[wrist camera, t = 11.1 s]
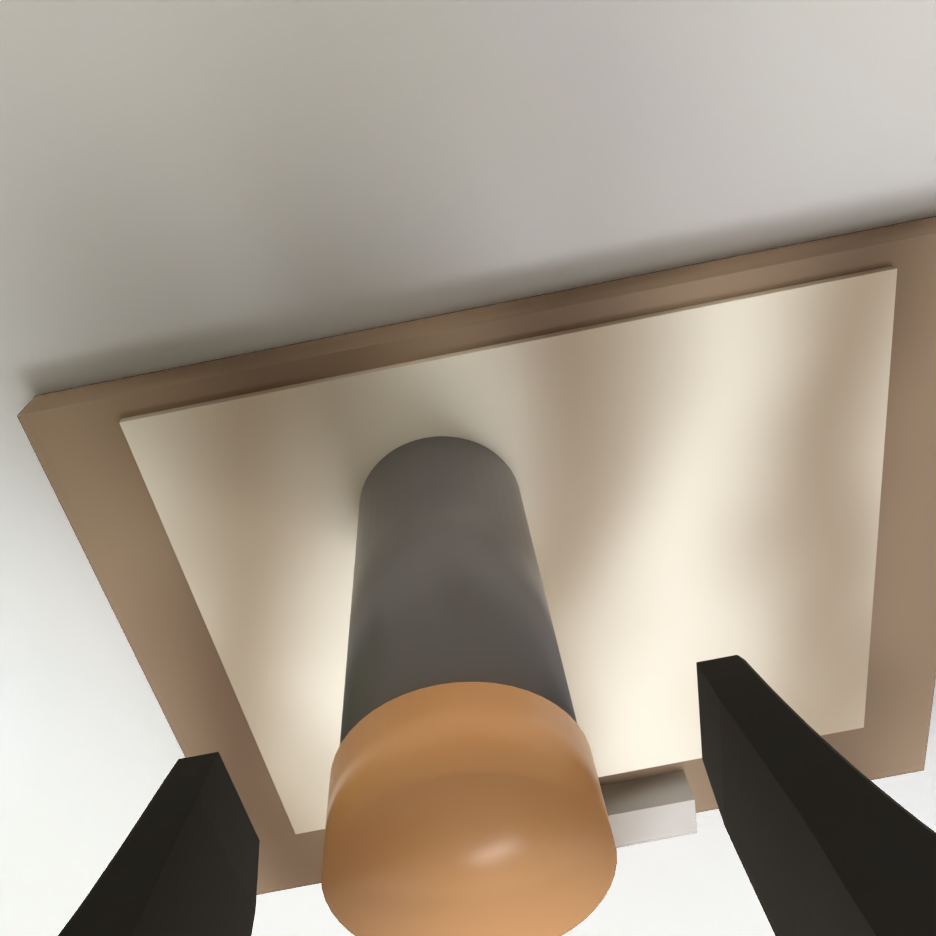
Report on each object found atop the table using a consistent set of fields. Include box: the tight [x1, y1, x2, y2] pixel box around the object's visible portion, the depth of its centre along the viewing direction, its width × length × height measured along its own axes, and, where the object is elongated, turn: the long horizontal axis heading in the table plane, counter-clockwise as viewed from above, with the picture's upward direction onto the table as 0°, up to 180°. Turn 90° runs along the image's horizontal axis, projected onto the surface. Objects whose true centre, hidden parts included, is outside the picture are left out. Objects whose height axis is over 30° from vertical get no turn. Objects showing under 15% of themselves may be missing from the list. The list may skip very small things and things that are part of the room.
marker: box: [321, 436, 617, 936], centre depth 15 cm, size 4×4×9 cm
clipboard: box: [17, 217, 936, 895], centre depth 21 cm, size 20×16×2 cm
